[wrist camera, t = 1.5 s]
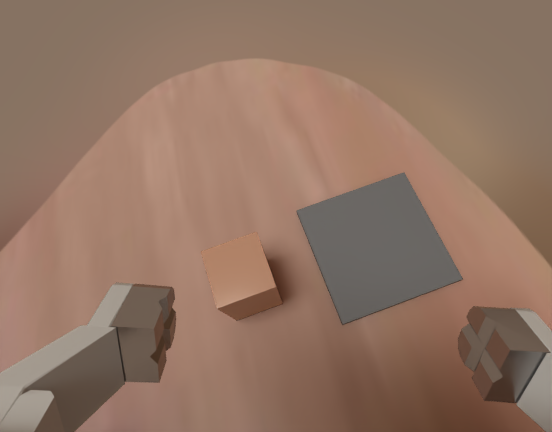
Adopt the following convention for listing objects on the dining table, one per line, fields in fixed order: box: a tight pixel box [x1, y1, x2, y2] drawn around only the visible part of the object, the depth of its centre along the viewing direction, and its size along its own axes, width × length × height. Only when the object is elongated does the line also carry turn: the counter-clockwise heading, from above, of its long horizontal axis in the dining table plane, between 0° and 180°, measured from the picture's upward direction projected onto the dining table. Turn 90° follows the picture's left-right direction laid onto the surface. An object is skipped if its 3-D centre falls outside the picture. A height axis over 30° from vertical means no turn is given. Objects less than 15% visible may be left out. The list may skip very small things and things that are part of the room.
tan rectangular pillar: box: [201, 232, 283, 321], centre depth 38 cm, size 5×5×10 cm
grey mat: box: [297, 173, 463, 325], centre depth 43 cm, size 14×14×1 cm
